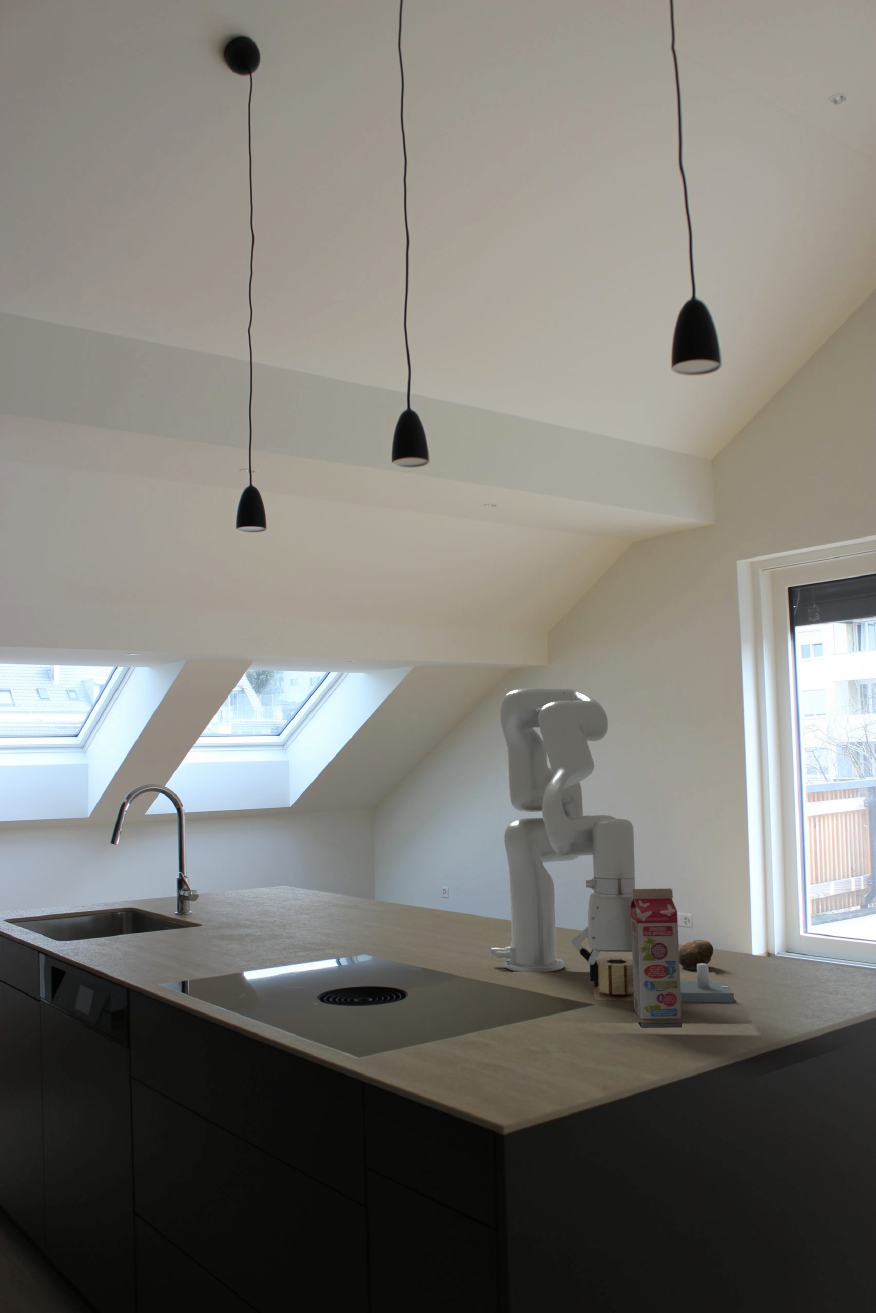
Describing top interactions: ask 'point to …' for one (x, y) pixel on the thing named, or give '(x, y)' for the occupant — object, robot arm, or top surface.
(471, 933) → the top surface
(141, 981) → the top surface
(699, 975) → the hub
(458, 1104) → the top surface
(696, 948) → the brown potato
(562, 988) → the top surface
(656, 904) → the juice carton
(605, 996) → the stand
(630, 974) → the ring
